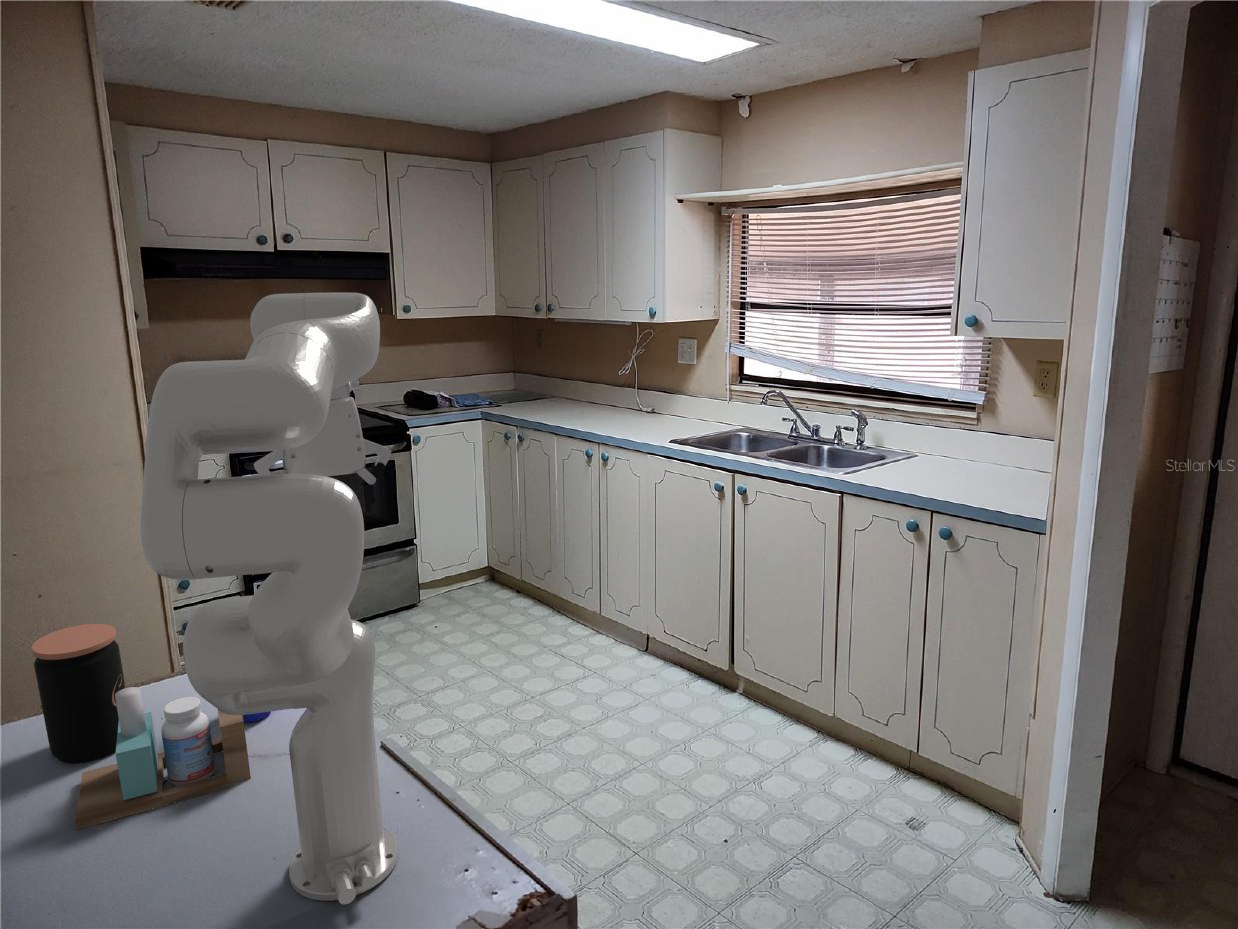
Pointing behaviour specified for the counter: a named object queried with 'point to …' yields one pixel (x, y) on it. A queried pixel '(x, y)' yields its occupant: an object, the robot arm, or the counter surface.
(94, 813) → the wooden tray
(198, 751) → the pill bottle
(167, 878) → the counter surface
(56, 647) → the coffee jar
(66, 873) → the counter surface
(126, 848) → the counter surface
